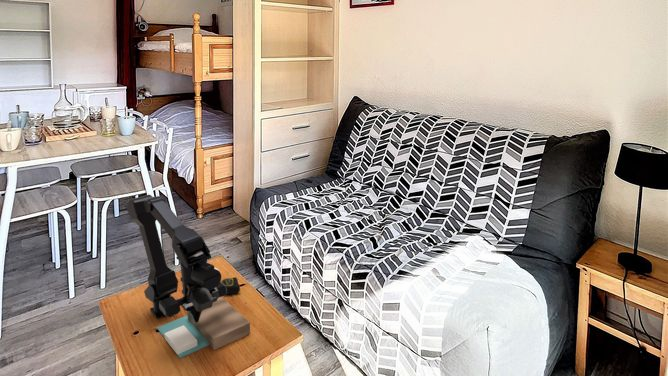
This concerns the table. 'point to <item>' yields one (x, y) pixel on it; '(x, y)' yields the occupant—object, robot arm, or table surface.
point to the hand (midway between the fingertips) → (196, 321)
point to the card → (180, 339)
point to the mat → (184, 321)
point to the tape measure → (231, 285)
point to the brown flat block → (221, 324)
